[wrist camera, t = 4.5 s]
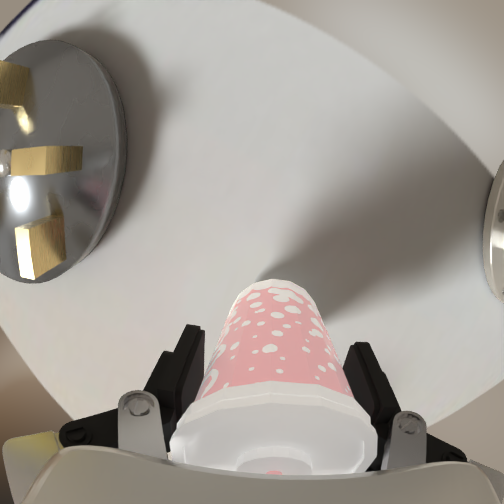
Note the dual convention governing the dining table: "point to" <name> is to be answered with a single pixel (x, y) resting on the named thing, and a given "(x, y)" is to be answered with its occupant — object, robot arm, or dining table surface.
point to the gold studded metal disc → (56, 158)
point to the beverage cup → (275, 394)
